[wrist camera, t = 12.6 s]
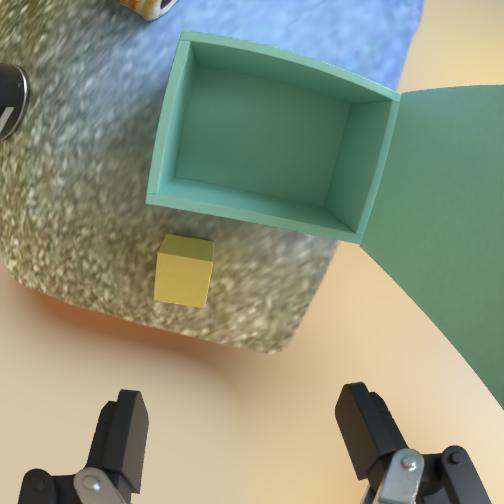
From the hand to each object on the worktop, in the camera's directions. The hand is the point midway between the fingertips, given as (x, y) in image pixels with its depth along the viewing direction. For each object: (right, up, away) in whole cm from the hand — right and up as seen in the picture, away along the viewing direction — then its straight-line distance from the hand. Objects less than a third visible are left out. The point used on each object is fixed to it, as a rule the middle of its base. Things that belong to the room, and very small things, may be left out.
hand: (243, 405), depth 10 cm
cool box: (+1, +17, +17) cm, 24 cm away
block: (-7, +5, +21) cm, 22 cm away
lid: (+11, +9, +2) cm, 14 cm away
